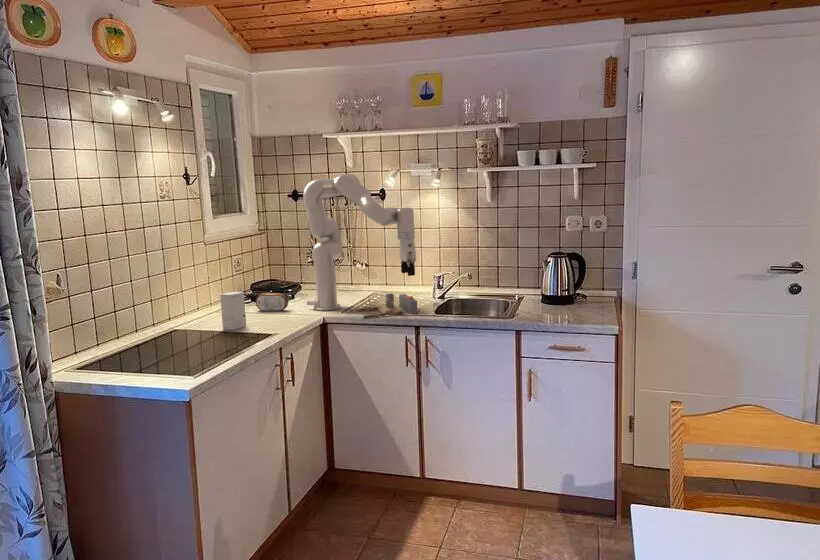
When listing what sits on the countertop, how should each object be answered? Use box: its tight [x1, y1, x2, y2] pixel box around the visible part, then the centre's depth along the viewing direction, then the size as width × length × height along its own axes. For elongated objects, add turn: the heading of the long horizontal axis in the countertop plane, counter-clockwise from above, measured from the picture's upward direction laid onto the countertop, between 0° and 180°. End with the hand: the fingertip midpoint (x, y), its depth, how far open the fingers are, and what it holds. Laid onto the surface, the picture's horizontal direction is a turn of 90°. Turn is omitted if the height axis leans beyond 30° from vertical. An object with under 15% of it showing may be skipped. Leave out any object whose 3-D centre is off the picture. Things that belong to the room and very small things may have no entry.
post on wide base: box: [377, 293, 403, 314], centre depth 285 cm, size 8×11×8 cm
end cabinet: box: [398, 293, 418, 315], centre depth 288 cm, size 3×18×6 cm, turn 17°
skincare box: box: [219, 291, 247, 331], centre depth 263 cm, size 8×6×15 cm
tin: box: [255, 292, 289, 312], centre depth 295 cm, size 15×3×8 cm, turn 84°
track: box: [355, 306, 404, 319], centre depth 284 cm, size 18×15×1 cm
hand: (408, 274), depth 282 cm, fingers open, 9 cm apart
